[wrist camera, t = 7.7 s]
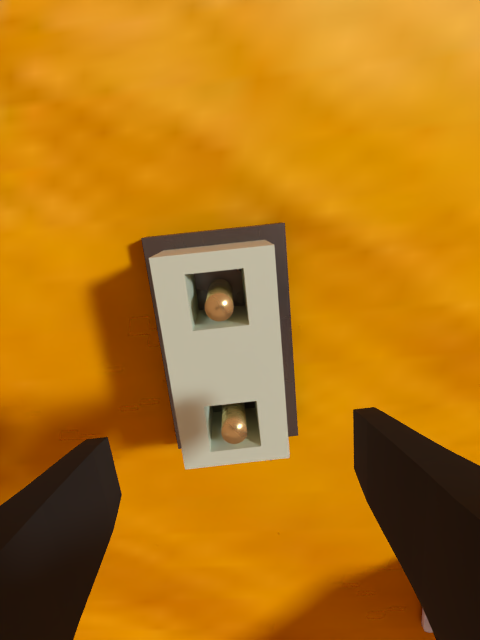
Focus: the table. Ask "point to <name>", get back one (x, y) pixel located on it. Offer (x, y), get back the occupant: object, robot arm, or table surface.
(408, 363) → the table surface
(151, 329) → the table surface
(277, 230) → the base
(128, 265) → the table surface
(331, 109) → the table surface
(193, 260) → the hollow breeze brick
